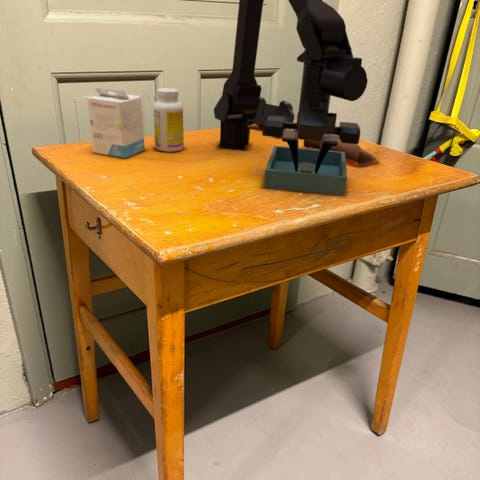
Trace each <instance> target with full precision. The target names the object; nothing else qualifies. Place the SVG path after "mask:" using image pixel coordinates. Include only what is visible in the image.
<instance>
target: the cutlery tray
mask: <svg viewBox="0 0 480 480" xmlns="http://www.w3.org/2000/svg"><path fill="white" fill-rule="evenodd" d="M319 150H320V149H317V148H306V147H298V155H299V164H298V172H295V168H294V163H293V158H292V153H291V150H290V148H289V146H284V145H280V146H279V145H274V146H273V148H272V150H271V153H270V156H269V159H268V161H267V164H266V167H265V170H264V179H263V180H264V181H263V188H264V189H268V190H269V189H270V190H279V191H280V190H281V191H291V192H299V193H300V192H302V193H312V194H322V195H332V196H342V197H344V196H345V191H346V186H347V180H348V174H347V162H346V158H345V152H339V151H328V152H327V154H326V156H325V157H324V159H323V162H322V164H321V166H320V168H319V170H318V172H317V173H315V166H316V162H317V158H318V154H319ZM302 162H306V163H312V173H306V172H300V171H301V165H302Z"/></svg>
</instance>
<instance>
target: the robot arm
mask: <svg viewBox="0 0 480 480" xmlns="http://www.w3.org/2000/svg"><path fill="white" fill-rule="evenodd" d="M264 1H265V0H238V11H237V20H236V22H237V23H236V30H235V40H234V41H235V42H234V50H233V61H232V69H231V73H230V74H229V76H228V77H227V79H226V80H225V82H224V83H223V86H222V94H221V96H220V98H219V100H218V101H217V103H216V104H215V106H214V107H213V115H214V119H215V120H218V121H220V127H219V128H220V130H219V131H220V133H219V134H220V135H219V142H218V148H226V149H236V150H246V148H247V146H249V145H250V140H251V139H250V138H251V125H248V120H254V119H255V115H256V112H257V108H258V105H259V104H260V97H261V93H262V85H261V84H259V83H258V82H257V79H256V77H255V71H256V65H257V64H256V62H257V55H258V46H259V38H260V32H261V31H260V30H261V23H262V16H263V15H262V14H263V8H264ZM287 1H288V2H289V5H290V7H291V8H292V10H293V12H294V14H295V17H296V21H297V22H296V28H295V29H296V32H297V35H298V37H299V40H300V43H301V46H302V48H303V49H304V51H302V53H300V54H299V55H298V56H297V58H296V61H297V62H299V63H303V68H302V77H301V84H300V85H301V86H300V96H299V104H298V112H297V114H296V115H297V117H296V122H293V123H291V122H285V117H278V116H268V117H267V118H266V119H265V121H264V123H263V129H262V134H261V136H263V137H270V138H271V137H274V138H277V137H279V136H280V135H281V134H282V132H283V136H282V137H281V138H282V139H281V141H282V142H284V143H287V145H288V147H289V148H290V150H291V153H292V158H293V163H294V168H295V172H298V164H299V155H298V148H299V140H301V141H304V140H305V139H310V140H315V141H321V140H322V142H321V146H320V149H318V150H319V154H318V158H317V162H316V166H315V173H317V172H318V170H319V168H320V166H321V164H322V162H323V159H324V157H325V156H326V154H327V152H328V151H329V150H330V148H331V147H332V146H337V145H338V140H337V139H340V140H341V142H342V143H350V144H358V145H359V144H360V137H361V126H360V125H359V123H358V122H347V121H340V122H339V125H338V126H337V125H336V124H337V115H338V113H337V112H330V111H329V110H330V103H331V97H335V98H338V99H342V100H345V101H349V102H355V101H357V100H359V99H360V98H361V97H362V96H363V95H364V93H365V91H366V89H367V86H368V76H367V72H366V69H365V68H364V67H363V66H362V63H363V58H362V57H357V56H356V57H355V56H354V54H353V49H352V47H351V43H350V41H349V37H348V34H347V33H348V32H347V30H346V29H347V26H346V22H345V19H344V18H343V17H342V15H340V14H339V12H338V11H337V9H335V8H334V7H333V6H331V5H330V4H328V3H326V2H325V1H323V0H287Z"/></svg>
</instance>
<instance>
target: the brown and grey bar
mask: <svg viewBox="0 0 480 480" xmlns="http://www.w3.org/2000/svg"><path fill="white" fill-rule="evenodd" d="M300 172H306V173H312V163H306V162H302V165H301V171H300Z"/></svg>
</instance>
